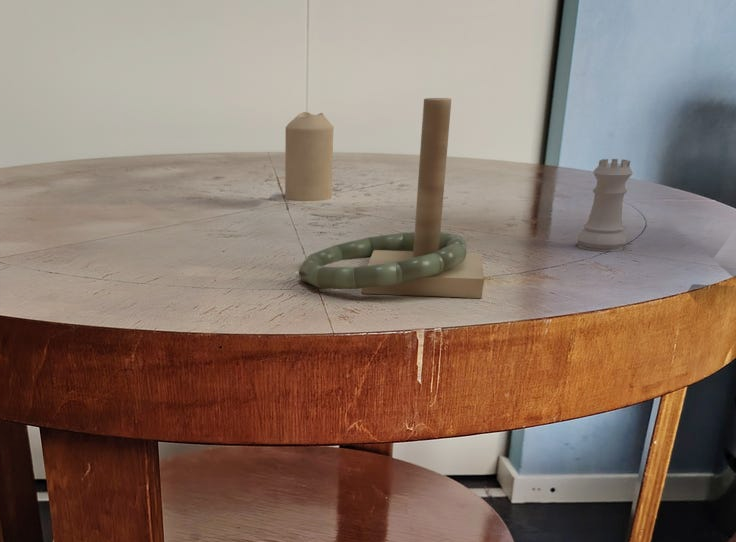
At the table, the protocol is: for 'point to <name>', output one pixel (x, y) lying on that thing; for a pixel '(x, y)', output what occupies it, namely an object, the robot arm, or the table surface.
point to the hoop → (380, 274)
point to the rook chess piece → (607, 208)
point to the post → (432, 218)
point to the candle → (308, 158)
